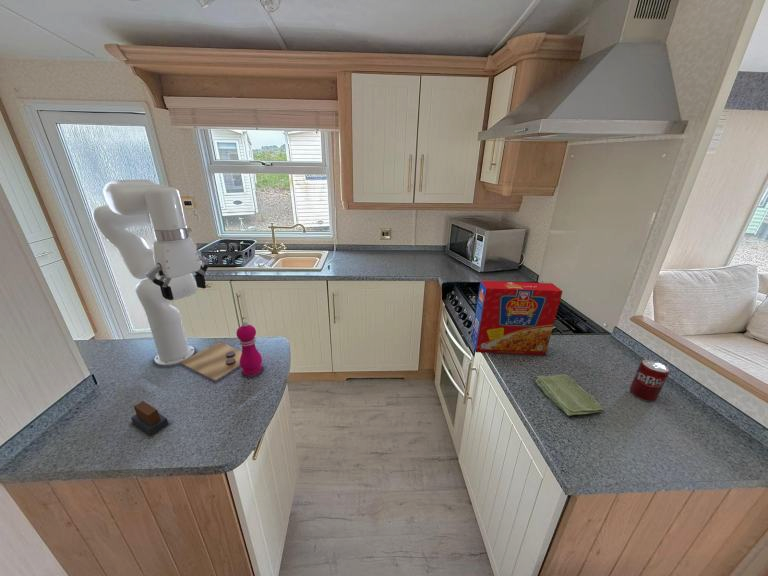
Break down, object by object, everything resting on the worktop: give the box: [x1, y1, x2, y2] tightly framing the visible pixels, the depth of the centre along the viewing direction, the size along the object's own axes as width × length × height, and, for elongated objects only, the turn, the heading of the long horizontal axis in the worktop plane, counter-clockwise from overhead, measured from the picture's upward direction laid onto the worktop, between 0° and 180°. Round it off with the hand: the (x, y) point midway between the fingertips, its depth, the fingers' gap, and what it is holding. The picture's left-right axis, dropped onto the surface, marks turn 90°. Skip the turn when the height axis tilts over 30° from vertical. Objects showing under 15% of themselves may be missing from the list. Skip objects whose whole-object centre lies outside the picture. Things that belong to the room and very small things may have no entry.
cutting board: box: [179, 341, 242, 381], centre depth 113 cm, size 20×16×1 cm
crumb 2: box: [226, 358, 236, 365], centre depth 111 cm, size 3×3×1 cm
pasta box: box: [470, 280, 563, 356], centre depth 121 cm, size 28×8×28 cm, turn 88°
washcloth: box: [534, 373, 604, 417], centre depth 100 cm, size 13×18×3 cm
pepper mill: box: [236, 321, 263, 376], centre depth 104 cm, size 7×7×20 cm
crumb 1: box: [226, 351, 235, 358], centre depth 115 cm, size 3×3×1 cm
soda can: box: [629, 359, 671, 403], centre depth 100 cm, size 7×7×12 cm
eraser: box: [130, 400, 169, 436], centre depth 85 cm, size 9×4×6 cm, turn 62°
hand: (186, 293), depth 89 cm, fingers open, 9 cm apart
